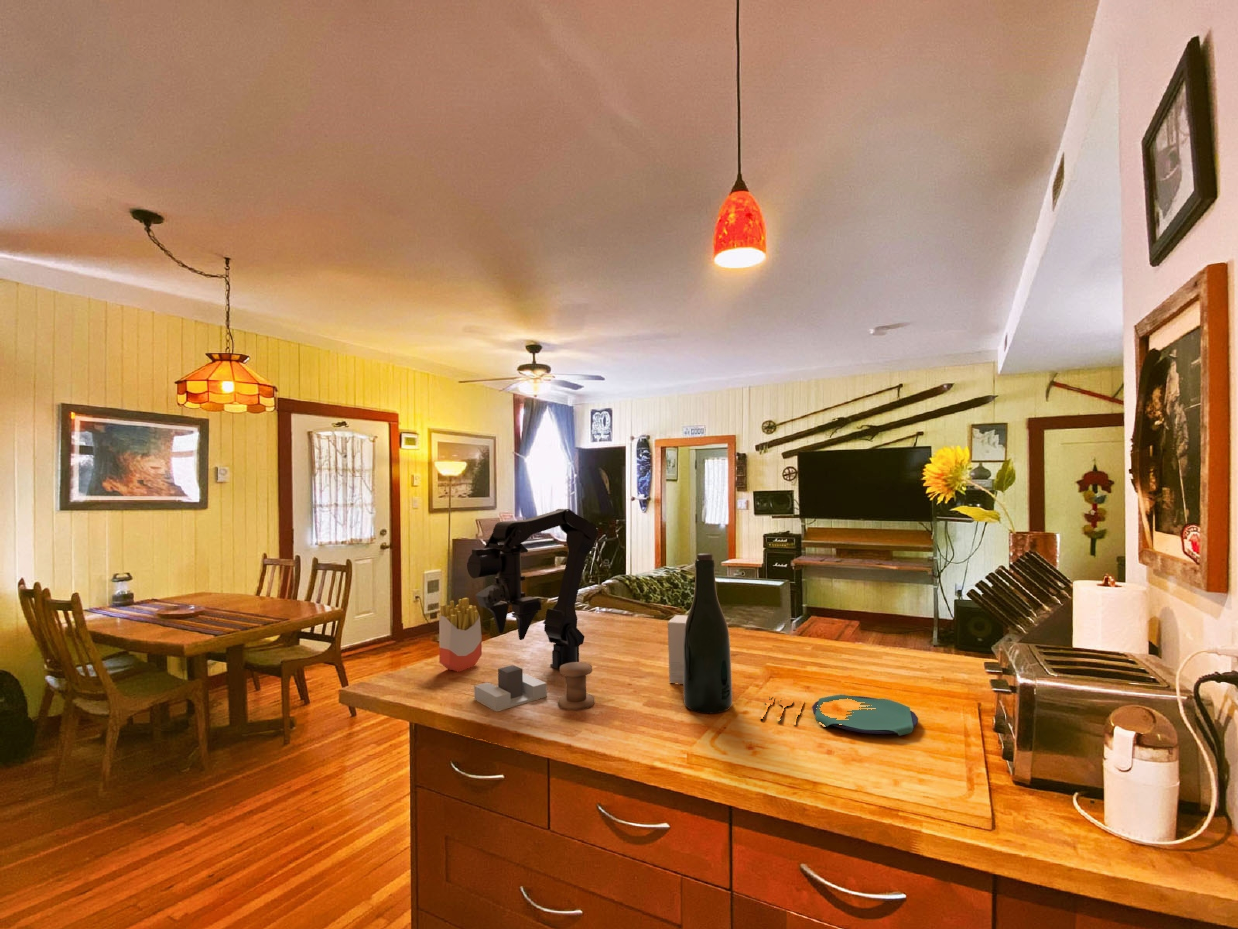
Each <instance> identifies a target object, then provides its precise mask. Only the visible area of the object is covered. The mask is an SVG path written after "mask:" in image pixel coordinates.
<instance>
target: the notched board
mask: <svg viewBox="0 0 1238 929" xmlns="http://www.w3.org/2000/svg"><path fill="white" fill-rule="evenodd" d="M473 686H474V688H473V690H474V698H473V699H475V701H476V700H477V701H476V702H478V703H480V702H481V704H482V705H483V706H485V705H486V707H487V708H489V709H490V710H492V709H493V711H494V712H496V713H497V712H500V711H504V710H506V709H509V708H510V709H511V708H513V707H518V706H520V705H523V704H527V703H530V702H533V701H537V700H540V698H541V699H543V698H546V697H548V696H547V695H548V694H547V693H548V690H547V688H548V687H547V686H548V684H547V682H545V681H544V680H541V679H538V678H537V677H534V676H531V675H530V674H526V673H524V672H523V695H522V696H519V697H516V698H512V699H511V694H510V693H509V692H507V691H505V690H503V689H501V688H499V687H498V685H495V684H493V683H490V682H483V683H479V684H476V685H473Z"/></svg>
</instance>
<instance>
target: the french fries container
mask: <svg viewBox="0 0 1238 929" xmlns="http://www.w3.org/2000/svg"><path fill="white" fill-rule="evenodd" d="M449 603H450V605H446V604H440V605H439V606H440V607H439V609H440V614H439V618H438V623H439V624H438V627H439V633H438V634H439V637H438V638H439V639H438V642H439V652H438V656H439V658H438V659H439V660H438V661H439V664H441V666H443V667H444V668H445V669H447V670H448V669H449V671H452V670H453V672H456V671H457V673H459V672H462V671H465V670H468V669H470V668H469V667H471V668H473V667H475V666H476V664H477V663H478V661H479V660H480V658H481V657H482V655H483V654H482V653H483V652H482V647H483V646H482V644H483V642H482V641H483V639H482V626H481V616H480V613H479V611H478V609H477V605H472V604H470V599H469V597H463V598H462V599H461V598H460V599H458V604H456V605H455V601H454V600H450V601H449ZM467 668H468V669H467ZM458 671H459V672H458Z"/></svg>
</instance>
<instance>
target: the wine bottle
mask: <svg viewBox="0 0 1238 929" xmlns="http://www.w3.org/2000/svg"><path fill="white" fill-rule="evenodd" d="M696 558H697V559H695V560H694V561H695V562H694V570H695V571H694V572H695V581H694V594H693V600H692V603H691V606H690V610H689V611H688V614H687V616H688V617H687V620H686V623H685V629H684V644H683V703H684V705H685V706H686V707H687V708H688V709H690V710H691V711H694V712H697V713H703V714H719V713H723V712H726V711H728V710H729V709H730V708H731V707H732V705H733V687H732V686H733V684H732V682H733V681H732V680H733V679H732V662H731V660H732V658H731V657H732V656H731V642H730V641H731V640H730V630H729V627H728V626H729V625H728V623H727V620H726V617H725V615H724V613H723V609H722V608H721V607H722V606H721V604H720V602H719V598H718V595H717V594H718V593H717V587H716V585H717V584H716V573H715V571H716V570H715V567H716V562H715V559H713V554H712V553H707V552H704V553H703V552H702V553H697V555H696ZM730 706H731V707H730ZM729 707H730V708H729ZM728 708H729V709H728ZM727 709H728V710H727Z"/></svg>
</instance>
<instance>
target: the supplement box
mask: <svg viewBox="0 0 1238 929" xmlns="http://www.w3.org/2000/svg"><path fill="white" fill-rule="evenodd" d="M687 617H688V615H682V614H675V615H674V616H673V617H672V618H671V619H670V620H668V622H667V637H668V638H667V640H668V641H667V645H668V647H667V648H668V649H667V650H668V677H669V678H668V679H669V681H668V682H671V683H678V684H677V685H680V684H683V644H684V629H685V623H686V620H687Z"/></svg>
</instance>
